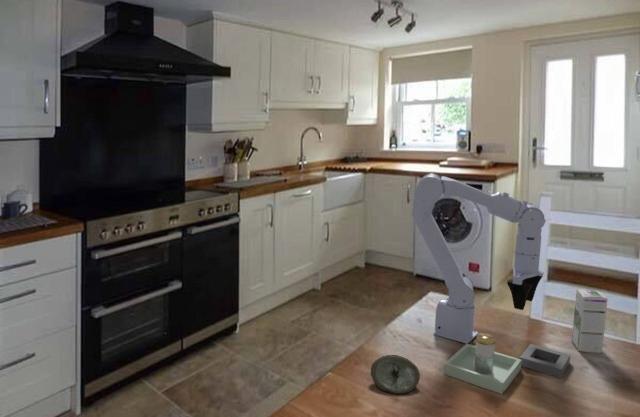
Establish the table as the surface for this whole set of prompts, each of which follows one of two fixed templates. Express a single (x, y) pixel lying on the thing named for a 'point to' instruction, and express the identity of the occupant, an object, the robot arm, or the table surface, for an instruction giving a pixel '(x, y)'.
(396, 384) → the lid
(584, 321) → the syrup box
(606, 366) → the table surface
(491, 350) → the pin
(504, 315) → the table surface
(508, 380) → the tray
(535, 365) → the holder
